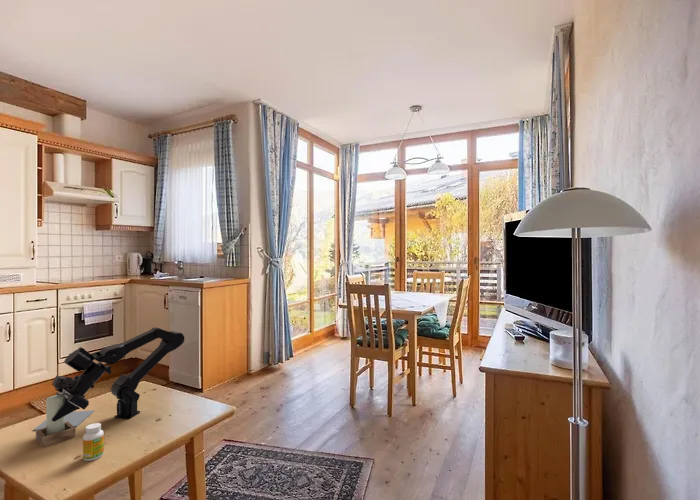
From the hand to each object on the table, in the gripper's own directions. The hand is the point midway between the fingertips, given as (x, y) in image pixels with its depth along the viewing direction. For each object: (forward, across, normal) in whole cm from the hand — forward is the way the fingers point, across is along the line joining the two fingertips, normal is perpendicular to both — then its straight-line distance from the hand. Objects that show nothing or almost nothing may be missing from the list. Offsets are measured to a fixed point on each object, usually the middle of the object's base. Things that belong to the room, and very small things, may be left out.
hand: (50, 418), depth 129 cm
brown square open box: (+4, 0, +6) cm, 7 cm away
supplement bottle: (+1, +24, +9) cm, 26 cm away
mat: (0, -14, +10) cm, 17 cm away
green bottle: (+4, 0, +6) cm, 7 cm away
